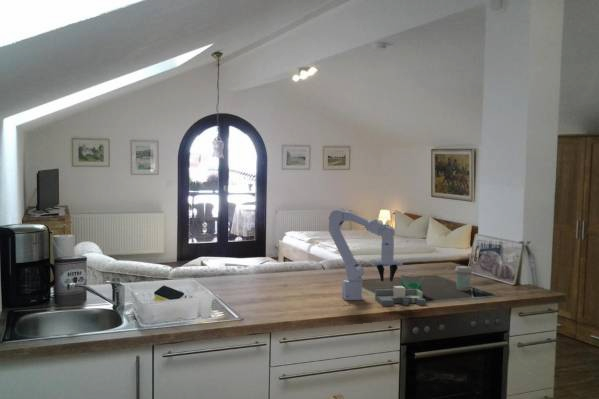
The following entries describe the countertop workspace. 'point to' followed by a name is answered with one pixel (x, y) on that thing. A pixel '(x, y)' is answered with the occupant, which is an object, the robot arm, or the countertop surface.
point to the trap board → (388, 299)
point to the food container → (412, 282)
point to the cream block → (398, 291)
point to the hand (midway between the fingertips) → (386, 280)
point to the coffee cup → (463, 277)
